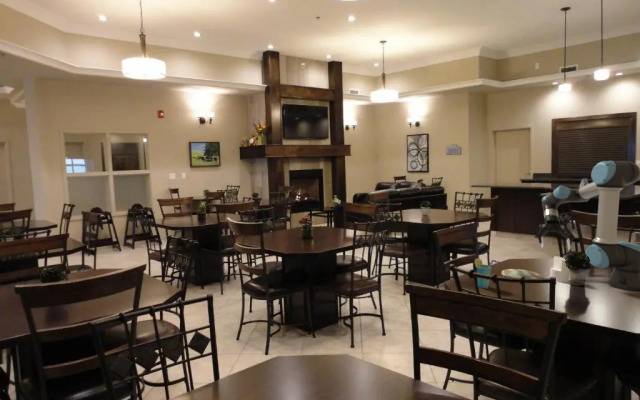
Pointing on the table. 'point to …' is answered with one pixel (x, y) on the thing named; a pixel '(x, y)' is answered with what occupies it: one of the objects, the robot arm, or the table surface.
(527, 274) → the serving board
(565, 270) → the base with upright slab
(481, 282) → the cup
